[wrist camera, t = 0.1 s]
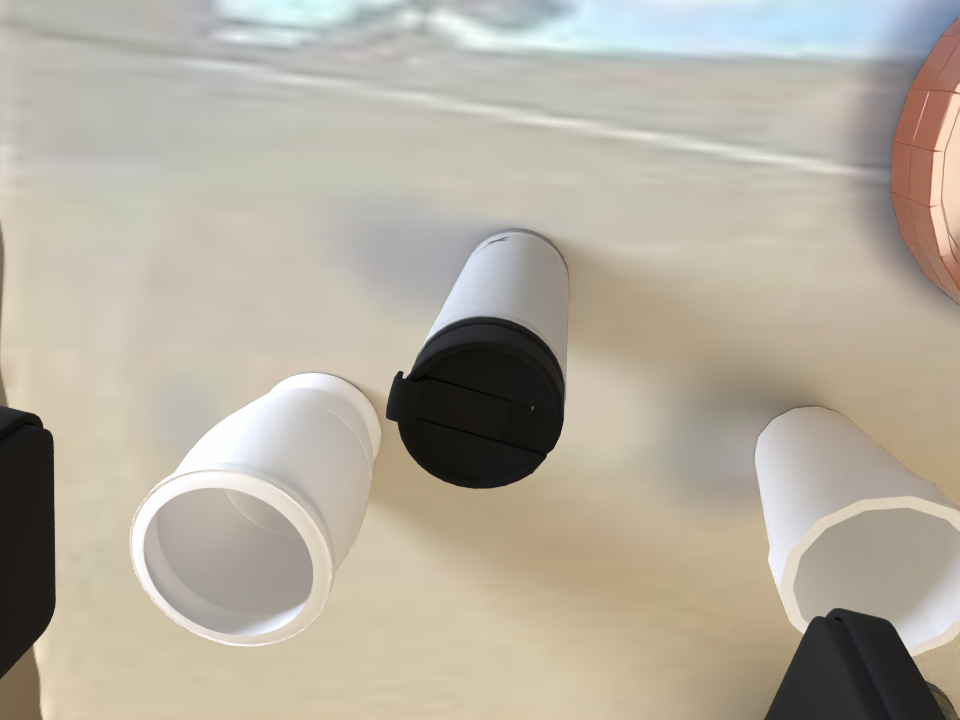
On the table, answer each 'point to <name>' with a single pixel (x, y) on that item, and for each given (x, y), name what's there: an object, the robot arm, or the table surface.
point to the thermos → (943, 702)
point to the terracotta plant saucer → (931, 166)
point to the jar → (260, 513)
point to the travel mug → (491, 367)
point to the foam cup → (857, 529)
